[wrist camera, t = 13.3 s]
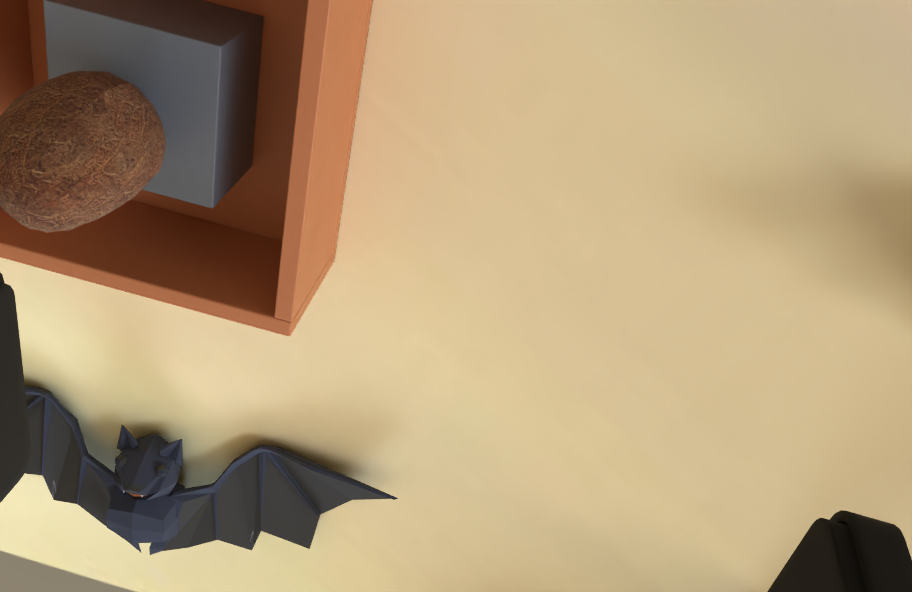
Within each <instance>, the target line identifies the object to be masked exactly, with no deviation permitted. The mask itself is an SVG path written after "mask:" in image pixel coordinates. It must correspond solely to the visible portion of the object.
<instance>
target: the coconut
mask: <svg viewBox="0 0 912 592" xmlns="http://www.w3.org/2000/svg"><path fill="white" fill-rule="evenodd" d="M165 148H166V139H165V134H164V129H163V125H162V121H161V119H160V117H159V116H158V114H157V112H156V110H155V108H154V106H153V105H152V103H151V102H150V101H149V100H148V99H147V98H146V97H145V95H144V94H143V93H142V92H141V91H140V90H139V89H138V88H137V87H136V86H134V85H133V84H131V83H129V82H127V81H125V80H123V79H121V78H119V77H117V76H115V75H113V74H112V73H110V72H102V71H75V72H69V73H66V74H63V75H60V76H58V77H55V78H52V79H49V80H47V81H44V82H42V83H40V84H38V85H36V86H35V87H33V88H31V89H29V90H28V91H26V92H25V93H24V94H22V95H21V96H19V97H18V98H16V99H15V100H14V101H13V102H12V103H11V105H10V106H9V107H8V108H7V109H6V110H5V111H4V112H3V114H2V115H1V116H0V206H1V207H2V208H3V210H4V211H6V212H7V213H8V214H9V215H10V216H11V217H13V218H14V219H16V220H17V221H18V222H19V223H20V224H22V225H23V226H25V227H27V228H28V229H35V230H39V231H43V232H46V233H49V232H55V231H68V230H72V229H74V228H76V227H78V226H81V225H83V224H86V223H89V222H92V221H95V220H97V219H99V218H101V217H103V216H105V215H107V214H109V213H110V212H112V211H113V210H115V209H117V208H118V207H120V206H122V205H123V204H124V203H126V202H127V201H129V200H130V199H132V198H133V197H135V196H136V195H137V194H138V193H139V192H140V191H141V190H142V188H143V187H144V186H145V185H146V184H147V183H148V182H149V181H150V180H151V179H152V178H153V177H154V176H155V175H156V174H157V173H158V172H159V171H160V169H161V166H162V163H163V159H164V153H165Z"/></svg>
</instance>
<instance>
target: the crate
mask: <svg viewBox="0 0 912 592" xmlns="http://www.w3.org/2000/svg"><path fill="white" fill-rule="evenodd" d="M204 1H207V2H211V3H215V4H219V5H223V6H226V7H230V8H234V9H238V10H242V11H245V12H249V13H253V14H257V15H261V16H263V17H264V21H263V34H262V46H261V59H260V72H259V85H258V97H257V110H256V123H255V136H254V148H253V161H252V167H251V168H250V169H249V170H248V171H247V172H246V173H245V174H244V175H243V176H242V177H241V179H240V180H239V181H238V182H237V183H236V184H235V185H234V186H233V187H232V188H231V189H230V190H229V192H228V193H227V194H226V195H225V196H224V197H223V198H222V199H221V200H220V201H219V202H218V203H217V205H216V206H215V207H214V208H208V207H204V206H201V205H197V204H193V203H190V202H186V201H182V200H178V199H175V198H171V197H167V196H164V195H160V194H156V193H153V192H149V191H145V190H141V191H140V192H139V193H138V194H137V195H136V196H135V197H133V198H132V199H130V200H129V201H127V202H126V203H124V204H123V205H122V206H120V207H118V208H117V209H115V210H113V211H112V212H110V213H109V214H107V215H105V216H103V217H101V218H99V219H97V220H95V221H92V222H89V223H86V224H83V225H81V226H78V227H76V228H74V229H72V230H68V231H55V232H49V233H46V232H43V231H39V230H35V229H28V228H27V227H25V226H23V225H22V224H20V223H19V222H18V221H17V220H16V219H14V218H13V217H11V216H10V215H9V214H8V213H7V212H6V211H4V210H3V208H2V207H1V206H0V257H1V258H5V259H9V260H12V261H16V262H20V263H23V264H27V265H31V266H34V267H38V268H42V269H45V270H49V271H52V272H56V273H60V274H63V275H67V276H71V277H74V278H78V279H82V280H85V281H89V282H93V283H96V284H100V285H104V286H107V287H111V288H114V289H118V290H122V291H125V292H129V293H133V294H136V295H140V296H144V297H147V298H151V299H155V300H158V301H162V302H165V303H169V304H173V305H176V306H180V307H184V308H187V309H191V310H195V311H198V312H202V313H206V314H209V315H213V316H217V317H220V318H224V319H227V320H231V321H235V322H238V323H242V324H246V325H249V326H253V327H257V328H260V329H264V330H268V331H271V332H275V333H278V334H282V335H286V336H290V335H291V334H292V332H293V330H294V329H295V327H296V325H297V323H298V322H299V320H300V318H301V317H302V315H303V313H304V312H305V310H306V308H307V306H308V305H309V303H310V301H311V300H312V298H313V296H314V294H315V293H316V291H317V289H318V288H319V286H320V284H321V283H322V281H323V279H324V277H325V276H326V274H327V272H328V271H329V269H330V267H331V266H332V264H333V262H334V259H335V252H336V245H337V239H338V232H339V225H340V218H341V212H342V205H343V198H344V191H345V184H346V178H347V171H348V164H349V157H350V151H351V144H352V137H353V130H354V124H355V117H356V110H357V103H358V97H359V90H360V83H361V76H362V70H363V63H364V56H365V49H366V43H367V36H368V29H369V22H370V16H371V9H372V2H373V0H204ZM47 80H48V67H47V52H46V36H45V21H44V6H43V0H0V116H1V115H2V114H3V112H4V111H5V110H6V109H7V108H8V107H9V106H10V105H11V103H12V102H13V101H14V100H15V99H16V98H18V97H19V96H21V95H22V94H24V93H25V92H26V91H28V90H29V89H31V88H33V87H35V86H36V85H38V84H40V83H42V82H44V81H47Z"/></svg>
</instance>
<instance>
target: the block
mask: <svg viewBox="0 0 912 592" xmlns="http://www.w3.org/2000/svg"><path fill="white" fill-rule="evenodd" d="M43 6H44V21H45V36H46V52H47V67H48V80H49V79H52V78H55V77H58V76H60V75H63V74H66V73H69V72H75V71H102V72H110V73H112V74H113V75H115V76H117V77H119V78H121V79H123V80H125V81H127V82H129V83H131V84H133V85H134V86H136V87H137V88H138V89H139V90H140V91H141V92H142V93H143V94H144V95H145V97H146V98H147V99H148V100H149V101H150V102H151V103H152V105H153V106H154V108H155V110H156V112H157V114H158V116H159V117H160V119H161V121H162V125H163V129H164V134H165V139H166V148H165V153H164V159H163V163H162V166H161V169H160V171H159V172H158V173H157V174H156V175H155V176H154V177H153V178H152V179H151V180H150V181H149V182H148V183H147V184H146V185H145V186H144V187H143V188H142V190H145V191H149V192H153V193H156V194H160V195H164V196H167V197H171V198H175V199H178V200H182V201H186V202H190V203H193V204H197V205H201V206H204V207H208V208H214V207H215V206H216V205H217V203H218V202H219V201H220V200H221V199H222V198H223V197H224V196H225V195H226V194H227V193H228V192H229V190H230V189H231V188H232V187H233V186H234V185H235V184H236V183H237V182H238V181H239V180H240V179H241V177H242V176H243V175H244V174H245V173H246V172H247V171H248V170H249V169H250V168H251V167H252V161H253V148H254V136H255V123H256V110H257V97H258V85H259V72H260V59H261V46H262V34H263V21H264V17H263V16H261V15H257V14H253V13H249V12H245V11H242V10H238V9H234V8H230V7H226V6H223V5H219V4H215V3H211V2H207V1H204V0H43Z"/></svg>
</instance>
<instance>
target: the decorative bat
mask: <svg viewBox="0 0 912 592" xmlns="http://www.w3.org/2000/svg"><path fill="white" fill-rule="evenodd" d="M25 394H26V403H27V412H28V421H29V431H30V440H31V457H30V461H29V464H28V467H27V469H26V471H25V473H26V474H36V475H43V477H44V479H45V481H46V483H47V486H48V488H49V490H50V492H51V495H52V497H53V499H54V500H57V501H63V502H69V503H75V504H78V505H79V506H81V507H82V508H83V509H85V510H86V511H87V512H89V513H90V514H91V515H92V516H94V517H95V518H96V519H98V520H99V521H100V522H101V523H103V524H104V525H105V526H107V528H109V529H110V530H112V531H113V532H115V533H116V534H118V535H119V536H121V537H122V538H124V539H125V540H126V541H128V542H129V543H130V544H131V545H133V546H134V547H135V548H136V549H137V550H139V551H140V552H141V550H140V547H139V544H138V543H151V542H152V543H151V545H150V555H151V554H154V553H157V552H160V551H166V550H173V549H181V548H188V547H191V546H195V545H199V544H203V543H206V542H210V541H214V540H221V541H224V542H227V543H230V544H233V545H237V546H240V547H243V548H246V549H249V550H252V549H253V547H254V544H255V542H256V540H257V538H258V536H259V534H260V532H261V531H264V532H266V533H269V534H272V535H274V536H277V537H280V538H282V539H285V540H288V541H290V542H293V543H296V544H298V545H301V546H303V547H306V548H309V549H310V546H311V543H312V539H313V536H314V533H315V530H316V526H317V523H318V520H319V517H320V514H322V513H324V512H326V511H329V510H331V509H333V508H335V507H337V506H339V505H342V504H344V503H346V502H348V501H350V500H358V499H394V500H395V499H398V498H396V497H394V496H391V495H389V494H387V493H385V492H382V491H380V490H378V489H375V488H373V487H371V486H368V485H366V484H364V483H361V482H359V481H357V480H354V479H352V478H350V477H348V476H345V475H343V474H341V473H338V472H336V471H334V470H331V469H329V468H327V467H324V466H322V465H320V464H318V463H315V462H313V461H311V460H308V459H306V458H304V457H301V456H299V455H297V454H294V453H292V452H290V451H287V450H285V449H283V448H281V447H274V446H266V445H259V446H256V447H254V448H253V449H251V450H250V451H248V452H246V453H245V454H243V455H241V456H240V457H238V458H237V459H235V460H234V461H233V462H232V463H231V464H230V465H229V466H228V468H227V469H226V470H225V471H224V472H223V473H222V475H221V476H220V477H219V478H218V479H217V480H216V482H214V483H213V484H210V485H204V486H198V487H192V488H186V489H185V487H184V486H182V485H181V484H179V483H177V481H178V477H179V473H180V470H181V466H182V465H183V456H182V439H180V440H177V441H174V442H172V443H168V442H166V441H165V440H164V439H163V438H162V437H160V436H159V435H158V434H153V435H149V436H145V437H141V438H137V439H135V438H134V437H133V436H132V435H131V434H130V433H129V432H128V430H127V429H126V428H125V427H124V426H123V425H122V427H121V432H120V436H119V441H118V445H117V449H119V450H121V451H122V452H121V454H120V455H119V456H117V458H116V459H115V463H116V466H115V473H113V472H112V471H111V470H110V469H108V468H107V467H106V466H104V465H103V464H102V463H100V462H99V461H98V460H96V459H95V458H94V457H92V456H91V455H90V454H89V453H88V451H87V449H86V446H85V442H84V439H83V436H82V433H81V430H80V427H79V423H78V420H77V419H76V418H75V417H74V416H73V415H72V414H71V413H70V412H68V411H67V410H66V409H65V408H64V407H63V406H62V405H61V404H60V403H59V402H58V400H57V399H56V398H55V397H54V396H53V395H52V393H51V392H49V391H47V390H44V389H41V388H38V387H29V386H25Z"/></svg>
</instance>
